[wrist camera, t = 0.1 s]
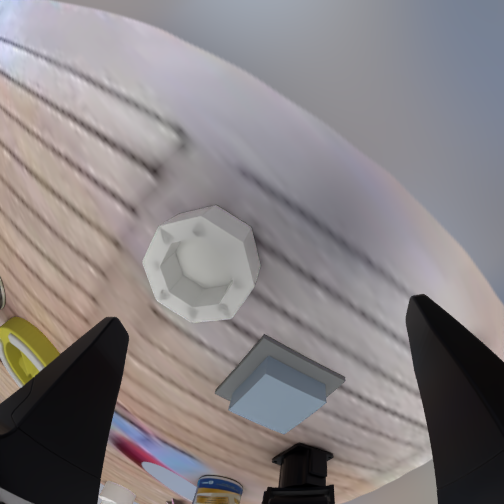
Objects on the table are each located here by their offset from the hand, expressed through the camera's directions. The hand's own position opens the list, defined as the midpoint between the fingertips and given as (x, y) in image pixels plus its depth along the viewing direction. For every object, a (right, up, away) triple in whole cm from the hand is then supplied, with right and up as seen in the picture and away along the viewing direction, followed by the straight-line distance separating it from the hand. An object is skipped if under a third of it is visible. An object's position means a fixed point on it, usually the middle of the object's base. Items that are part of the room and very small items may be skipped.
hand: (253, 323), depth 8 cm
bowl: (-4, +2, +16) cm, 17 cm away
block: (+3, -12, +20) cm, 24 cm away
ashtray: (-34, -18, +28) cm, 48 cm away
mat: (+3, -12, +20) cm, 24 cm away
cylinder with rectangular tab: (-36, -63, +44) cm, 85 cm away
